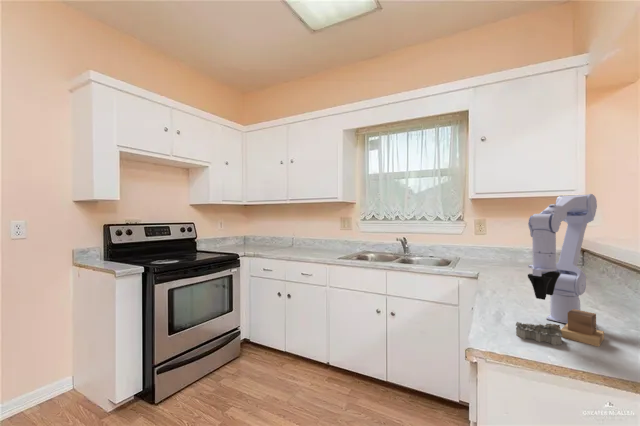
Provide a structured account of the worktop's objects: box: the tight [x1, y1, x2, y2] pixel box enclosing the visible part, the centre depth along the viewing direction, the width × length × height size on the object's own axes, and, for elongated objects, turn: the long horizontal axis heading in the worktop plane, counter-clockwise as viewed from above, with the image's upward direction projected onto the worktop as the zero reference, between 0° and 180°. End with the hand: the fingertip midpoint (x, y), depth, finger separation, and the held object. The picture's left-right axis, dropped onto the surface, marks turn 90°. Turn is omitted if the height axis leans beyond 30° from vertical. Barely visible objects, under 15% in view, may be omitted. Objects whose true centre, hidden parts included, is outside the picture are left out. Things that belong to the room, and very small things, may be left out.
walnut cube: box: [568, 309, 597, 335], centre depth 82 cm, size 5×5×5 cm
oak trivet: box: [561, 323, 605, 347], centre depth 82 cm, size 8×8×2 cm
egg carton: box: [515, 321, 563, 346], centre depth 82 cm, size 11×8×4 cm
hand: (544, 296), depth 88 cm, fingers open, 7 cm apart
